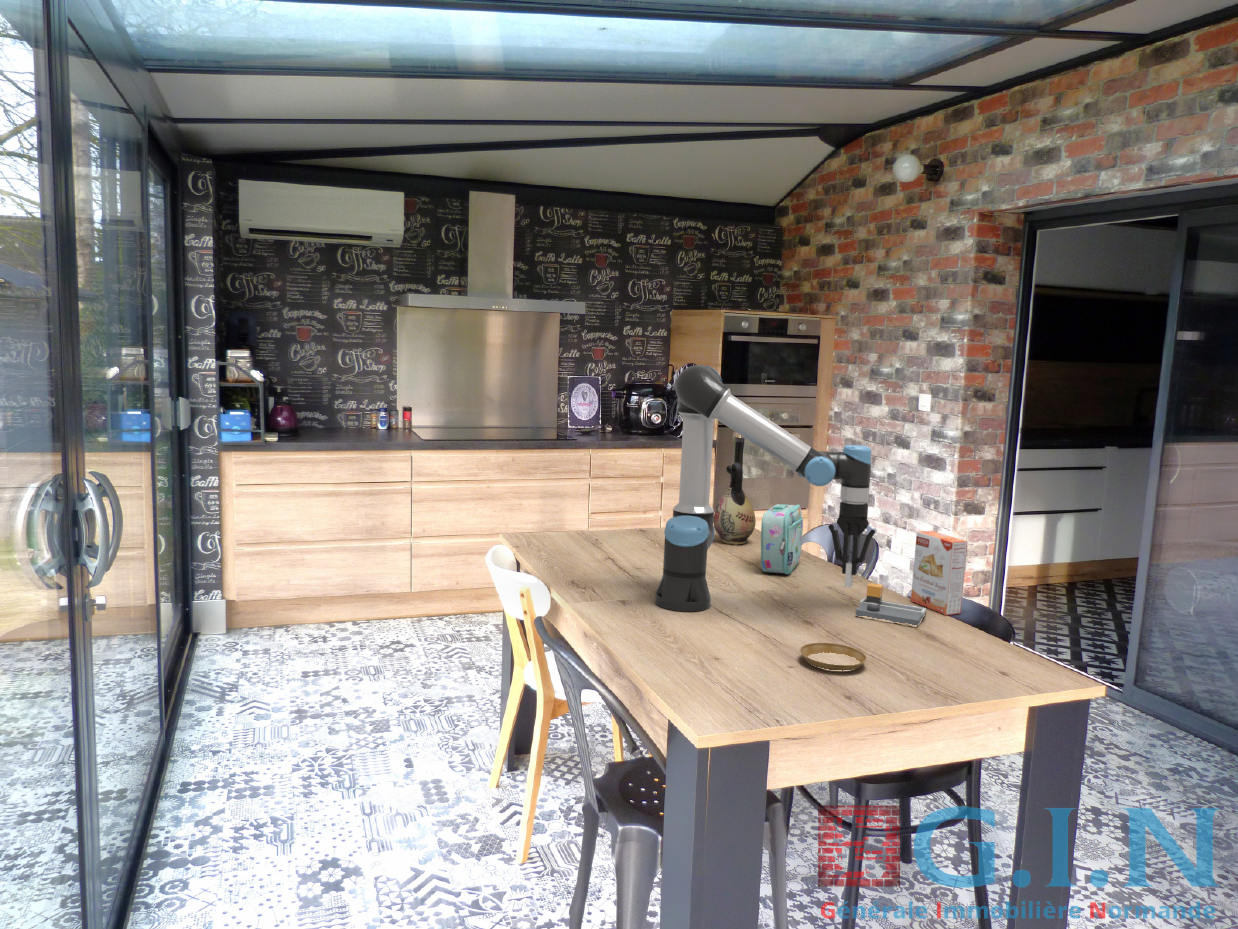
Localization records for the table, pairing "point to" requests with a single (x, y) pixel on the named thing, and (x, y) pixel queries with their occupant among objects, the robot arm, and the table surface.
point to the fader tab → (874, 593)
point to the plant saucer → (833, 648)
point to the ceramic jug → (734, 511)
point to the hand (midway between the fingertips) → (848, 585)
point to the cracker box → (939, 572)
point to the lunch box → (781, 538)
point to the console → (891, 611)
